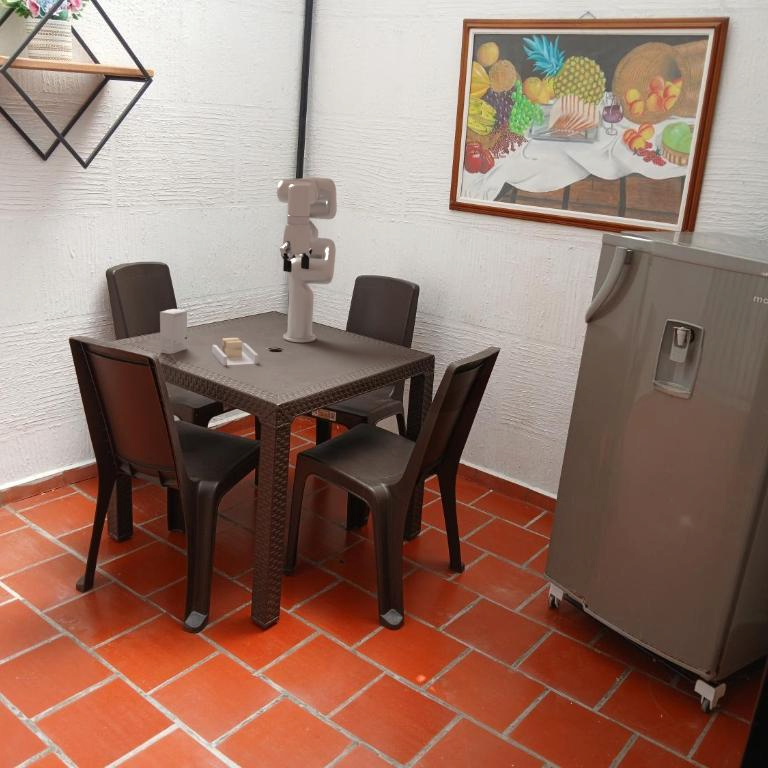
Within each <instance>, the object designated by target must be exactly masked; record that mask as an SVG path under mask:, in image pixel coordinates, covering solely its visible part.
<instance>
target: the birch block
mask: <svg viewBox="0 0 768 768" xmlns="http://www.w3.org/2000/svg"><path fill="white" fill-rule="evenodd" d="M242 343H243V341H242V340H241V339H240V338H239V337H227V338H226V337H225V338H224V337H223V338H222V349H221V351H222V352H223V353H224V354H225V355H226V356H227V358H233V357H242Z"/></svg>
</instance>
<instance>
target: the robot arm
mask: <svg viewBox="0 0 768 768" xmlns="http://www.w3.org/2000/svg"><path fill="white" fill-rule="evenodd" d="M336 187H337V186H336V184H335V181H334V180H333V179H331V178H327V177H315V176H305V177H303V178H291V179H290V178H289V179H281V180H280V181H279V183H278V185H277V188H276V195H277V200H278V201H279V202H281V203H282V204H283V203H284V204H287V216H286V217H287V222H286V225H285V227H284V230H283V231H284V232H283V239H282V240H283V241H282V245H281V246H280V247H279V251H280V252H279V253H280V256H281V259H282V260H283V268H282V269H283V272H286V273H287V279H288V305H287V306H288V308H287V309H288V310H287V331H286V332H285V333H283V335H282V338H283V339H284V340H286V341H287V342H292V343H300V344H301V343H310V342H314V341H315V340H316V338H317V337H316V335H315V334H314V333H313V314H314V297H315V296H314V292H313V290H312V288H311V287H310V285H309V284H311V285H312V284H313V285H314V284H315V285H329V284H331V283H332V281H333V279H334V272H335V263H336V262H335V261H336V251H337V250H336V249H337V248H336V244H335V241H333V240H332V239H330V238H326V237H319V229H318V228H317V226H316V225H315V223H314V222H312V220H311V219H317V220H333V219H334V218H335V217H336V215H337V211H338V203H337V200H338V199H337V188H336ZM293 256H295V257H293Z"/></svg>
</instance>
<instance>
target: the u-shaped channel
mask: <svg viewBox="0 0 768 768" xmlns="http://www.w3.org/2000/svg"><path fill="white" fill-rule="evenodd" d="M212 354H213V355H214V357H215V358H216V359H217V360H218V361H219V362H220V363H221V365H222V366H239V365H240V366H241V365H256V364H259V354H258V353H257V352H256V351H255V350H254V349H252V347H250V345H249V344H248V343H246V342H242V357H233V358H227V356H226V355H225V354H224V353H223V352H222V349H221V348H219V346H218V345H217V344H212Z"/></svg>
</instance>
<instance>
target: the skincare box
mask: <svg viewBox="0 0 768 768" xmlns="http://www.w3.org/2000/svg"><path fill="white" fill-rule="evenodd" d="M159 324H160V325H159V327H160V329H159V333H160V335H159V336H160V339H159V340H160V341H159V342H160V353H161V354H162V353H164V354H167V355H170V356H172V354H176V353H179V352H181V351H184V350H187V349H188V310H186V309H181V308H180V309H179V308H171V309H166V310H163V311H159Z"/></svg>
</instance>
